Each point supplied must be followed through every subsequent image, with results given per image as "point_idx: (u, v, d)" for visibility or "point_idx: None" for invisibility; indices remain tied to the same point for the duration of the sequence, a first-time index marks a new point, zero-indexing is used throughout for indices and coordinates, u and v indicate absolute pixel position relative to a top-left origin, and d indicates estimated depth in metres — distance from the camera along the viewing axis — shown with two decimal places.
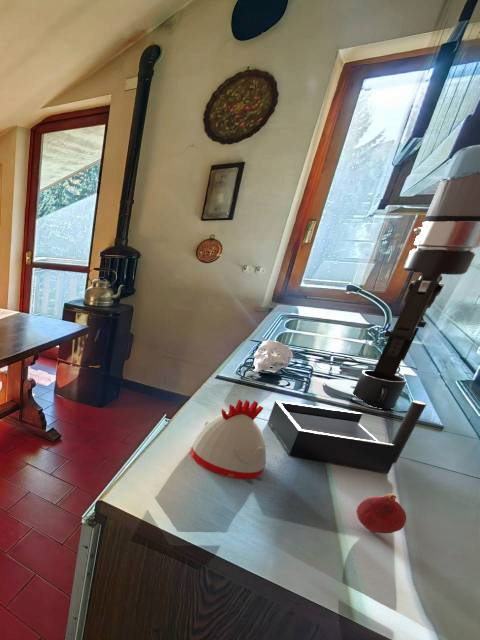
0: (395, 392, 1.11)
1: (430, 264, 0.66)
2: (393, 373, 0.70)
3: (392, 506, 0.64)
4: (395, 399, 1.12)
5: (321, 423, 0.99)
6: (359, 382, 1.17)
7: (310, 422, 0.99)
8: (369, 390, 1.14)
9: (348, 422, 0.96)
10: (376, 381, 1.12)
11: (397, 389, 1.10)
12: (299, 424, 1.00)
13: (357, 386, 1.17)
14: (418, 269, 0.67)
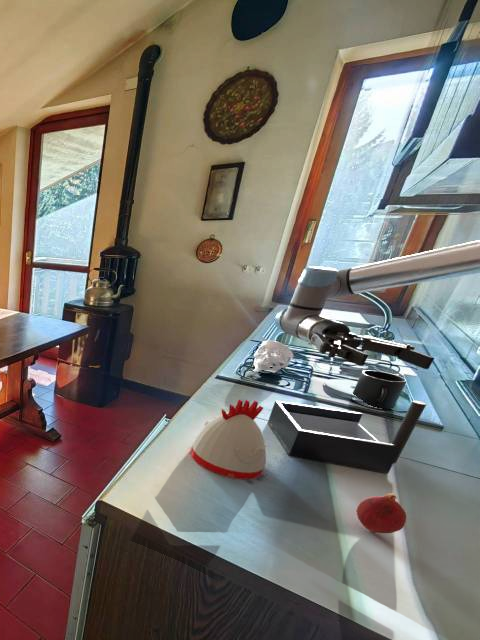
0: (395, 392, 1.11)
1: None
2: (363, 354, 0.86)
3: (392, 506, 0.64)
4: (395, 399, 1.12)
5: (321, 423, 0.99)
6: (359, 382, 1.17)
7: (310, 422, 0.99)
8: (369, 390, 1.14)
9: (348, 422, 0.96)
10: (376, 381, 1.12)
11: (397, 389, 1.10)
12: (299, 424, 1.00)
13: (357, 386, 1.17)
14: None
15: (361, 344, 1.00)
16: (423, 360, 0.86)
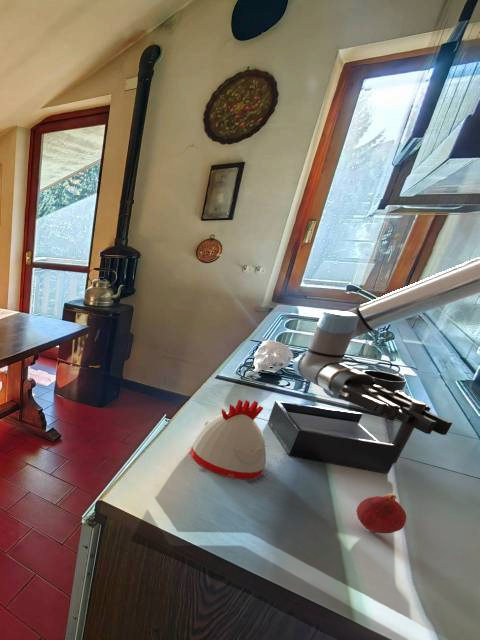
0: None
1: (336, 387, 0.96)
2: (431, 422, 0.76)
3: (392, 506, 0.64)
4: None
5: (321, 423, 0.98)
6: None
7: (310, 422, 0.99)
8: None
9: (348, 422, 0.96)
10: (376, 381, 1.12)
11: (397, 389, 1.10)
12: (299, 424, 1.00)
13: None
14: (339, 393, 0.96)
15: None
16: (439, 424, 0.77)
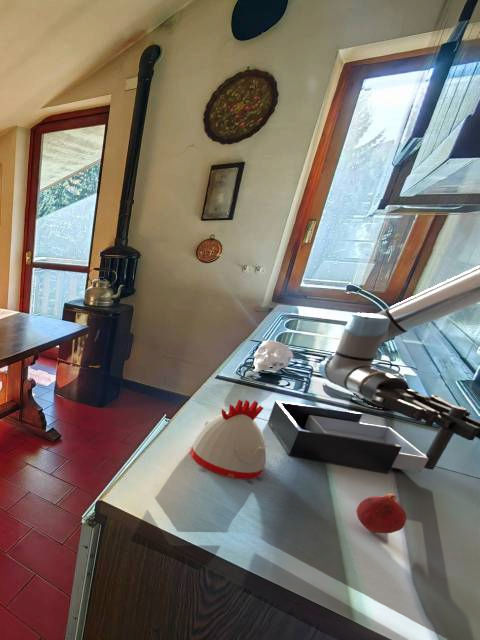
0: None
1: (368, 391, 0.94)
2: (474, 428, 0.74)
3: (392, 506, 0.64)
4: None
5: (351, 428, 0.96)
6: None
7: (340, 426, 0.97)
8: None
9: (380, 427, 0.94)
10: None
11: None
12: (329, 429, 0.98)
13: None
14: (371, 397, 0.93)
15: None
16: None
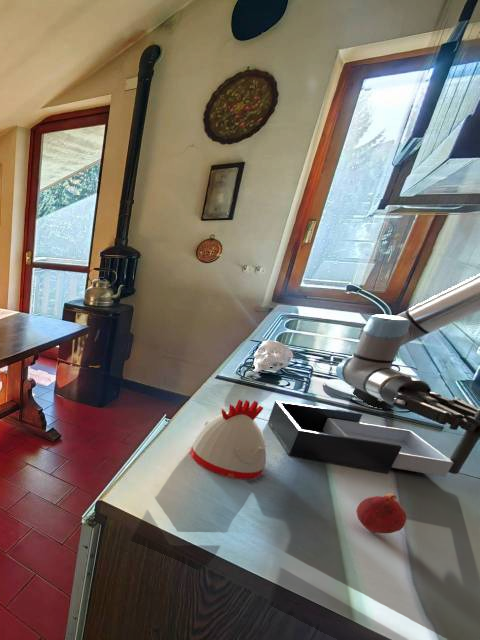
0: None
1: (389, 394, 0.93)
2: None
3: (392, 506, 0.64)
4: None
5: (371, 431, 0.95)
6: None
7: (359, 429, 0.96)
8: None
9: (401, 430, 0.93)
10: None
11: None
12: (348, 432, 0.97)
13: None
14: (392, 400, 0.92)
15: None
16: None
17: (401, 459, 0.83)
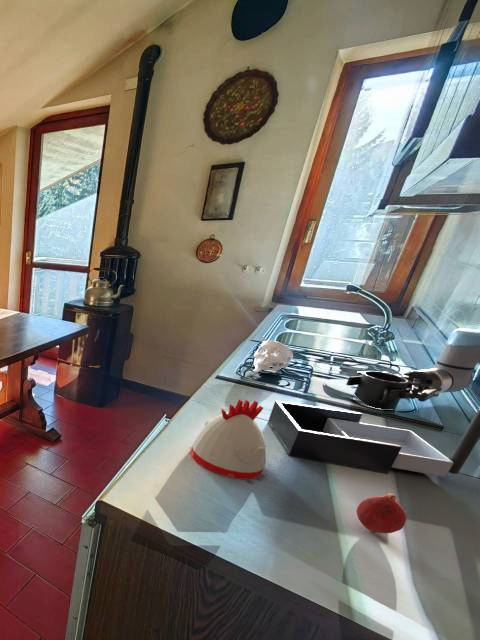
0: None
1: None
2: (349, 377, 1.18)
3: (392, 506, 0.64)
4: (397, 400, 1.11)
5: (371, 431, 0.95)
6: (361, 383, 1.16)
7: (359, 429, 0.96)
8: (371, 391, 1.13)
9: (401, 430, 0.93)
10: (378, 382, 1.11)
11: None
12: (348, 432, 0.97)
13: (359, 387, 1.17)
14: None
15: None
16: None
17: (401, 459, 0.83)
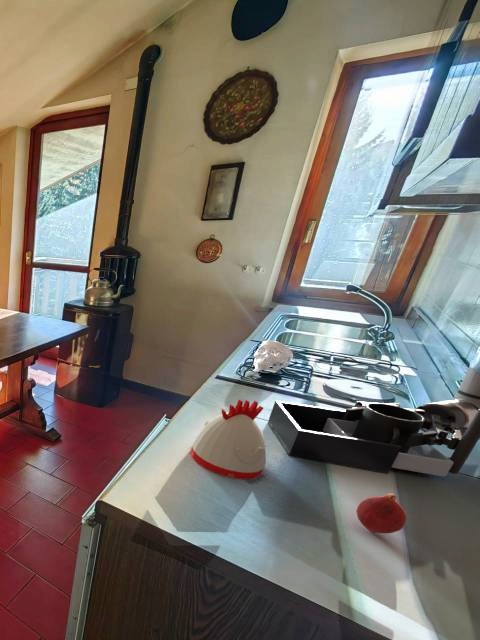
0: (410, 434, 0.85)
1: None
2: (346, 409, 0.93)
3: (392, 506, 0.64)
4: None
5: None
6: (363, 419, 0.91)
7: None
8: (376, 430, 0.88)
9: None
10: (385, 419, 0.86)
11: (412, 430, 0.84)
12: (348, 432, 0.97)
13: (360, 424, 0.91)
14: None
15: None
16: None
17: (401, 459, 0.83)
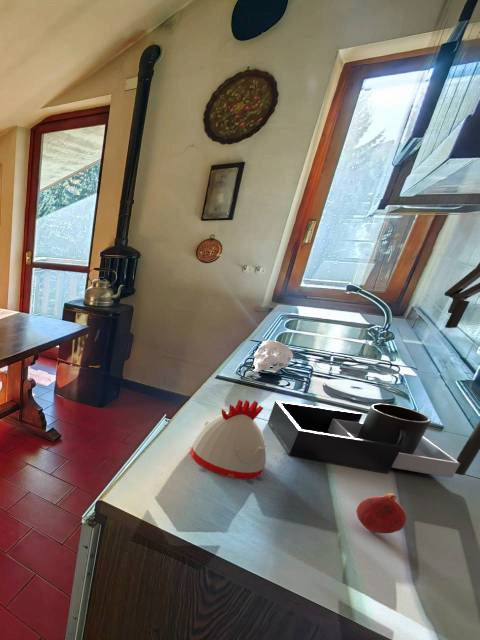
0: (416, 435, 0.84)
1: None
2: None
3: (392, 506, 0.64)
4: (416, 444, 0.86)
5: None
6: (368, 420, 0.90)
7: None
8: (382, 431, 0.87)
9: None
10: (391, 420, 0.86)
11: (418, 431, 0.84)
12: (353, 432, 0.97)
13: (365, 425, 0.91)
14: None
15: None
16: (455, 323, 0.95)
17: (408, 460, 0.83)
